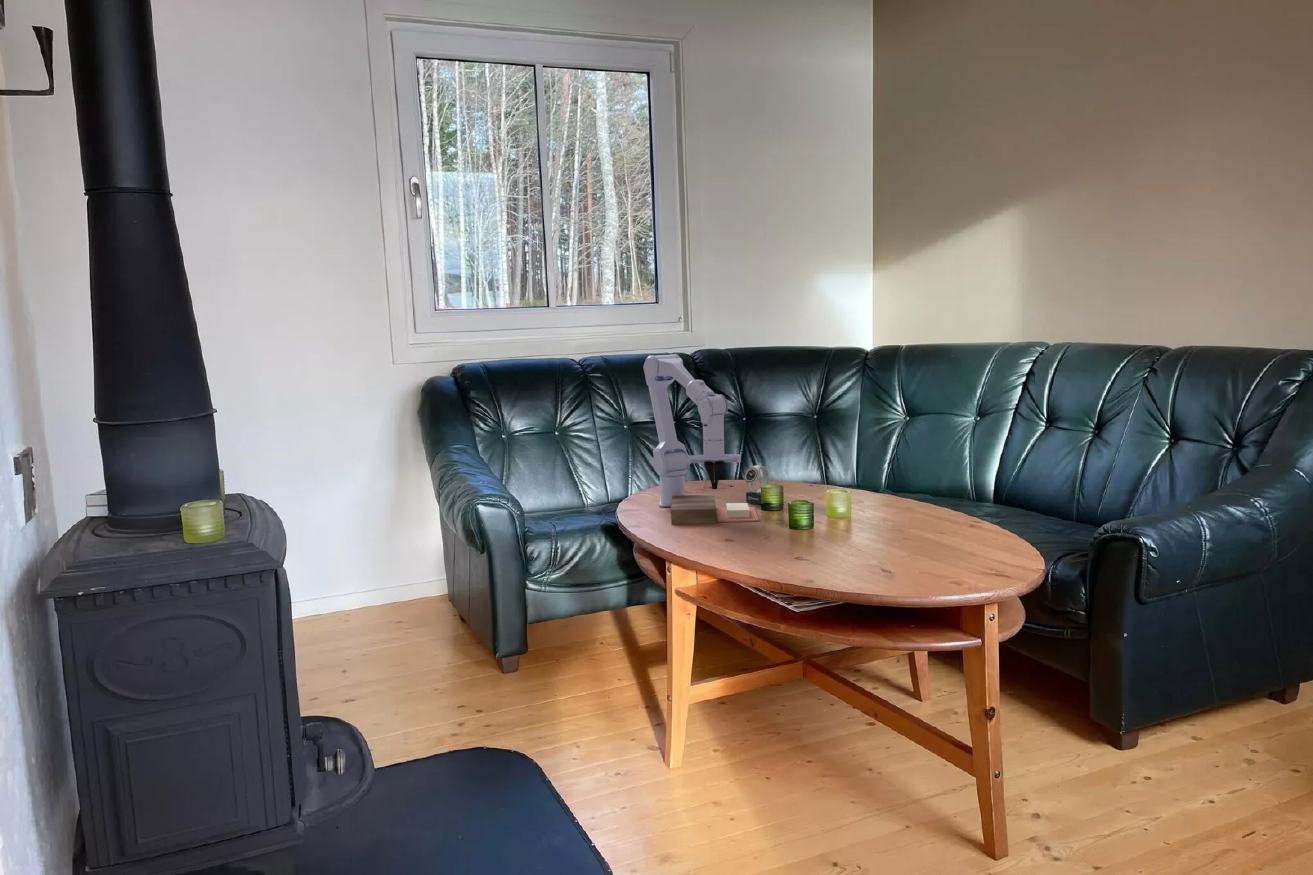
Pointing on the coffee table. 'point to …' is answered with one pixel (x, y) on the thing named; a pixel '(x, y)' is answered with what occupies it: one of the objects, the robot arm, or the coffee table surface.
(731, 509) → the tile
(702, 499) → the brown wooden block
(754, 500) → the watch
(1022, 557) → the coffee table surface
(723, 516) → the mat
